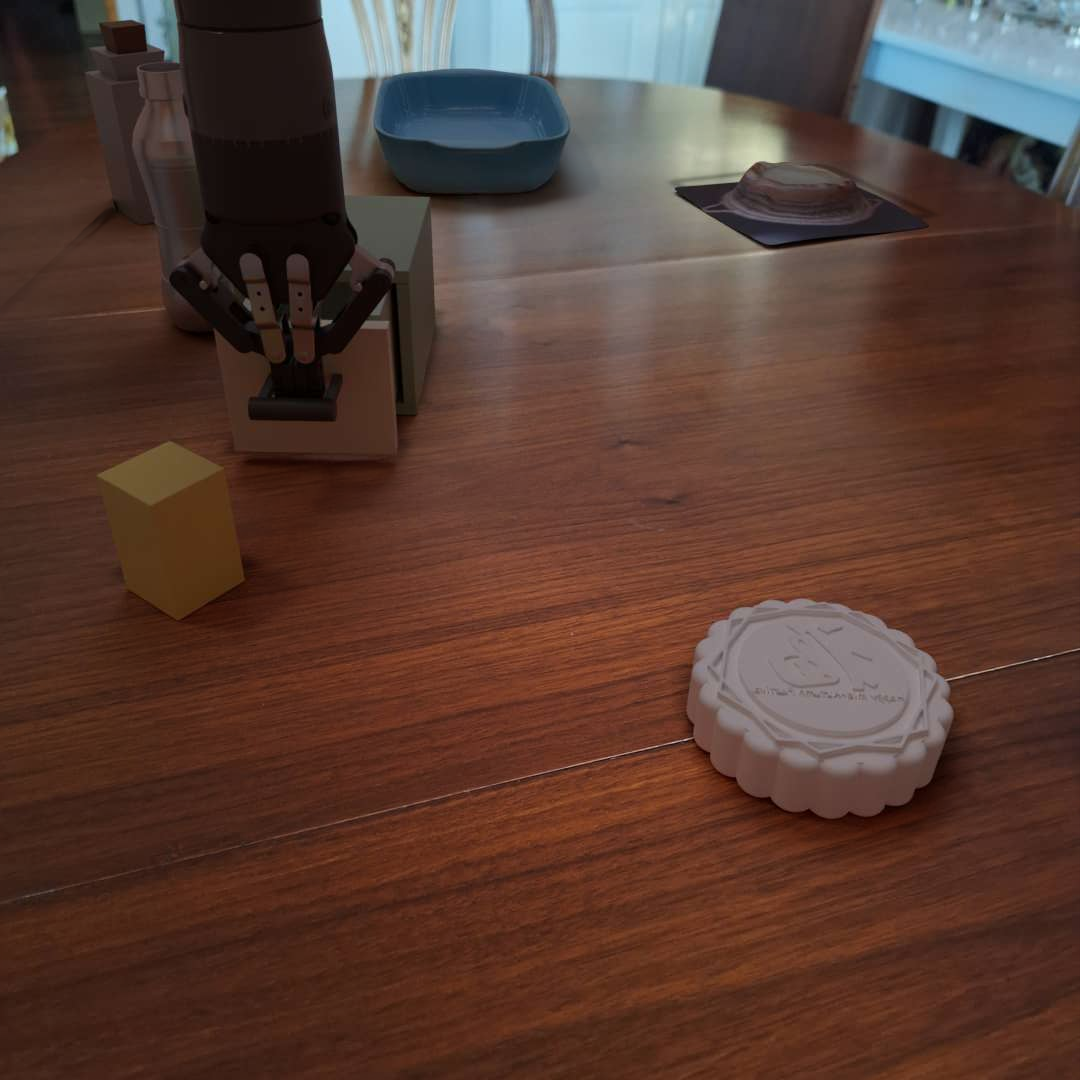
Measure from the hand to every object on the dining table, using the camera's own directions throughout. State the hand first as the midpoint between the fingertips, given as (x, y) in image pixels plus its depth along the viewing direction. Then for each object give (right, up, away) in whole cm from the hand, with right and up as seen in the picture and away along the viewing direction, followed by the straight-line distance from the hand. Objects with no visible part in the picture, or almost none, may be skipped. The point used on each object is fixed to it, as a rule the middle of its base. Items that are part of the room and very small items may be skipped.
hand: (302, 411), depth 64 cm
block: (-5, -10, -6) cm, 13 cm away
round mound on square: (+43, +29, +51) cm, 73 cm away
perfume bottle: (-26, +27, +47) cm, 60 cm away
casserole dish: (+6, +39, +64) cm, 75 cm away
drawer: (0, +1, +8) cm, 9 cm away
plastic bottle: (-13, +10, +23) cm, 28 cm away
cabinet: (0, +6, +17) cm, 18 cm away
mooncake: (+28, -17, -13) cm, 35 cm away
